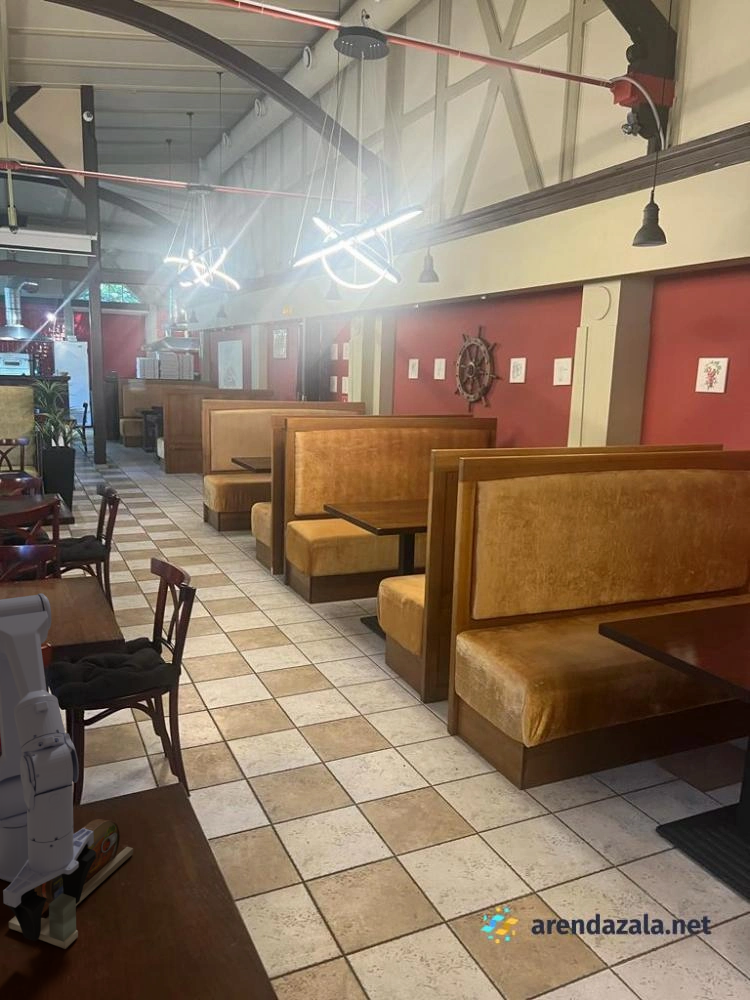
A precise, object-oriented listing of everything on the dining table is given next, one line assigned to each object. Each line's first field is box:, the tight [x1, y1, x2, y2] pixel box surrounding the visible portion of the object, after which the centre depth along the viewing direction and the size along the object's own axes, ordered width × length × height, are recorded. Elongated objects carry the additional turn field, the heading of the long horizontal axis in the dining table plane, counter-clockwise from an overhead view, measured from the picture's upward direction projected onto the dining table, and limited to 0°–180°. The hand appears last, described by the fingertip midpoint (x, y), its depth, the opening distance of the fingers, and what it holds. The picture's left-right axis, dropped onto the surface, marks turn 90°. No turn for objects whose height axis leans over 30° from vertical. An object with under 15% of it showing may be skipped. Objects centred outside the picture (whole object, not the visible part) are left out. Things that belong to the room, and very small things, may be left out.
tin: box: [39, 818, 121, 904], centre depth 111 cm, size 15×3×8 cm, turn 161°
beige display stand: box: [8, 846, 134, 950], centre depth 109 cm, size 10×20×6 cm, turn 161°
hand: (52, 918), depth 101 cm, fingers open, 7 cm apart
